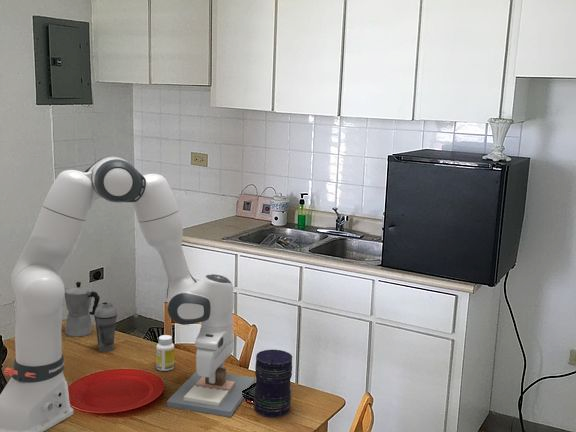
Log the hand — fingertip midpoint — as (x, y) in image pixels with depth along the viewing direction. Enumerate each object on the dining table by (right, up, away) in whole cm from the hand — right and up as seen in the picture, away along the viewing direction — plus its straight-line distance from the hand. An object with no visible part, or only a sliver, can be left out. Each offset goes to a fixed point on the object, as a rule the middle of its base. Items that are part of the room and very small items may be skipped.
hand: (215, 379), depth 181 cm
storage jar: (+16, -6, -8) cm, 19 cm away
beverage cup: (-39, +3, +27) cm, 47 cm away
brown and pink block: (0, -2, 0) cm, 2 cm away
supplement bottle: (-17, -1, +15) cm, 23 cm away
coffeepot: (-51, +5, +40) cm, 65 cm away
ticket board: (-1, -4, -1) cm, 4 cm away
